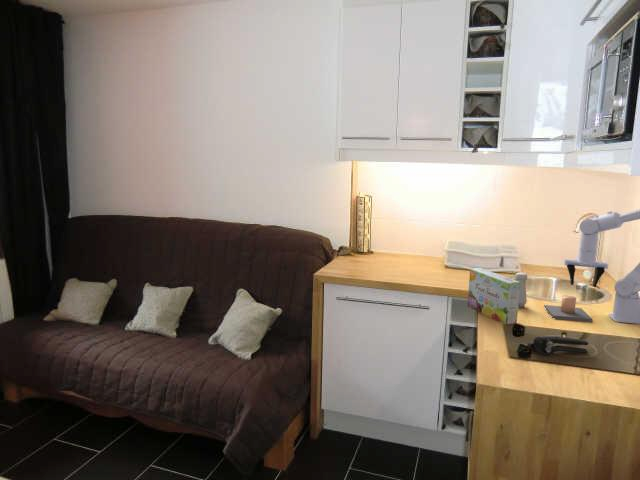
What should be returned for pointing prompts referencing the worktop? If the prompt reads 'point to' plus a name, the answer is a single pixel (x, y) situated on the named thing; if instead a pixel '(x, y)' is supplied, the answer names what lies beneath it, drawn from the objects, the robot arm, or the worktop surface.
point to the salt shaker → (522, 288)
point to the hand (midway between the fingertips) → (583, 285)
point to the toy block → (568, 304)
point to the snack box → (494, 295)
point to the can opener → (547, 342)
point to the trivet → (577, 316)
